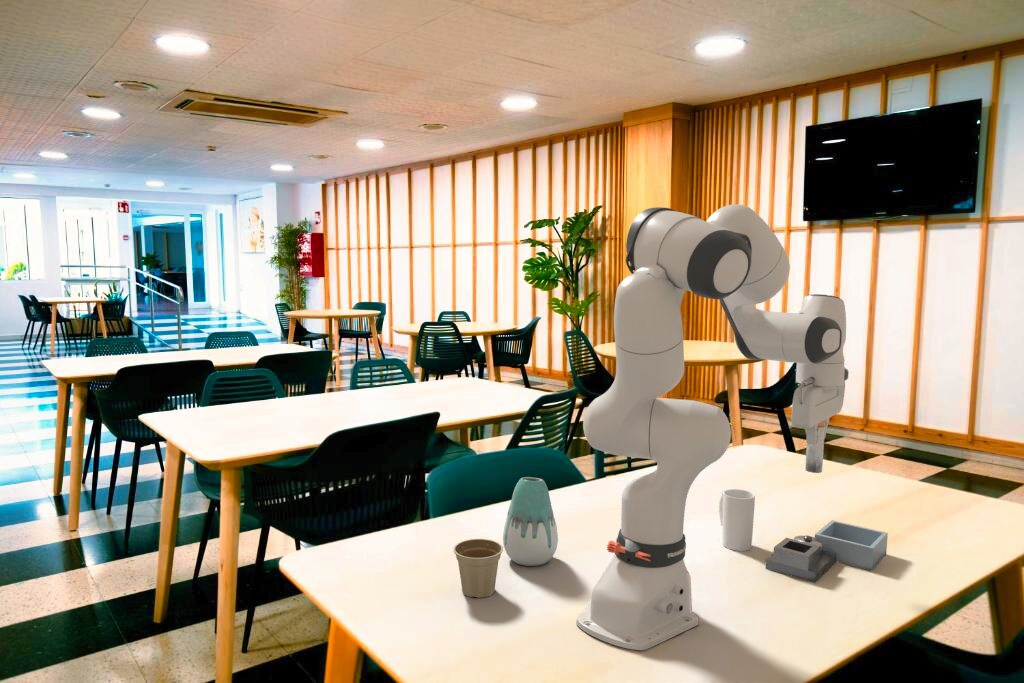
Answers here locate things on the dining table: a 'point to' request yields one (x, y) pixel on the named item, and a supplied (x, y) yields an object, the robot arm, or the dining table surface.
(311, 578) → the dining table surface
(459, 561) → the flower pot
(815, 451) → the lock pin
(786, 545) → the block
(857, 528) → the parts bin
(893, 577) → the dining table surface
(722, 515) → the mug
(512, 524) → the vase
